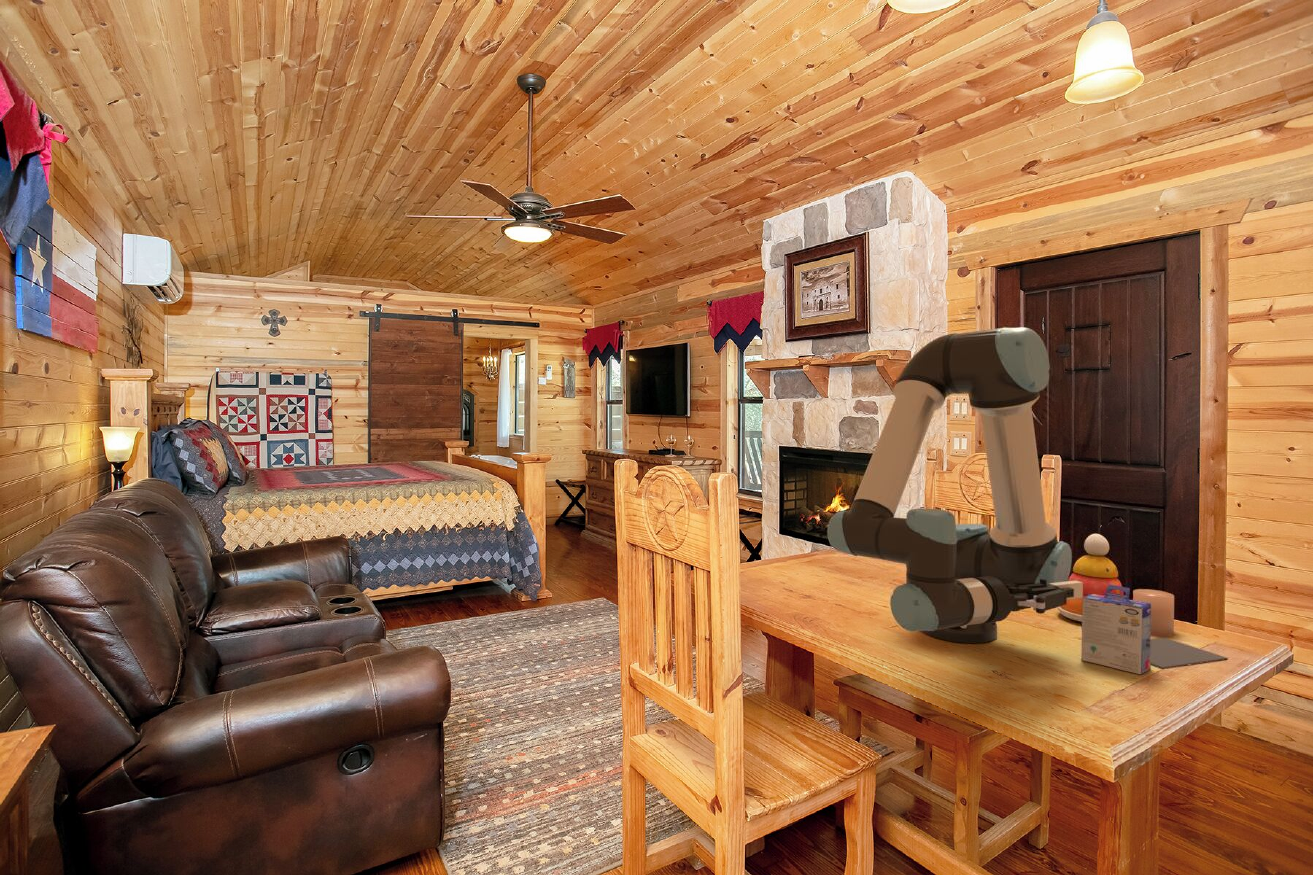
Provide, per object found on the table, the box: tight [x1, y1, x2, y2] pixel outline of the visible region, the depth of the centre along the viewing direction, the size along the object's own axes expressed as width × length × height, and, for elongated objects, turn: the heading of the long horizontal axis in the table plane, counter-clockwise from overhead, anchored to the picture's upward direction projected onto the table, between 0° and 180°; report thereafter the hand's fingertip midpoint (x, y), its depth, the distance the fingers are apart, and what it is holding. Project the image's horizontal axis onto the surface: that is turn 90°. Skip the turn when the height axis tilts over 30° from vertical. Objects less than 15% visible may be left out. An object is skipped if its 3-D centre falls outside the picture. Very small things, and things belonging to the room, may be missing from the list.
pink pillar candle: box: [1132, 588, 1175, 637], centre depth 141 cm, size 7×7×8 cm
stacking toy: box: [1056, 533, 1125, 623], centre depth 149 cm, size 14×14×20 cm
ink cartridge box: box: [1080, 585, 1152, 675], centre depth 123 cm, size 10×6×14 cm, turn 39°
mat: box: [1150, 636, 1229, 670], centre depth 128 cm, size 12×16×1 cm
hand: (1078, 588), depth 119 cm, fingers closed
